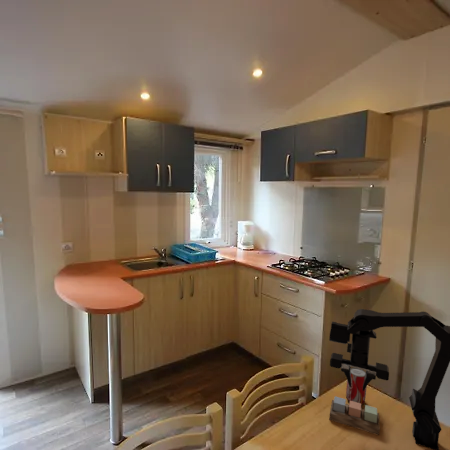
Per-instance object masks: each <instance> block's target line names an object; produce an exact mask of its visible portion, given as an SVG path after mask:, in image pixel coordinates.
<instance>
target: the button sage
mask: <svg viewBox="0 0 450 450" xmlns="http://www.w3.org/2000/svg"><path fill="white" fill-rule="evenodd" d="M364 409H365V417H364V419H365V420H368V421H371V422H374V423H377V413H378V408H377V407H374V406H371V405H368V404H364Z"/></svg>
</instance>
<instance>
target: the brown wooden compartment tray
mask: <svg viewBox="0 0 450 450" xmlns="http://www.w3.org/2000/svg"><path fill="white" fill-rule="evenodd" d="M333 406H334V399H332V400H331V405H330V410H329V419H328V420H329V421H331V422H336V423H339V424H343V425H345V426H348V427H351V428H354V429H358V430H361V431H365V432H368V433H371V434H374V435H377V436H380V429H381V428H380V413H379V412H377V423H374V422H371V421H368V420H365V419H364V417H365V408H362V407H361V414H360V418H358V417H355V416H351V415H349V403H345V412H344V413H341V412H338V411H335V410H333Z"/></svg>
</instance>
